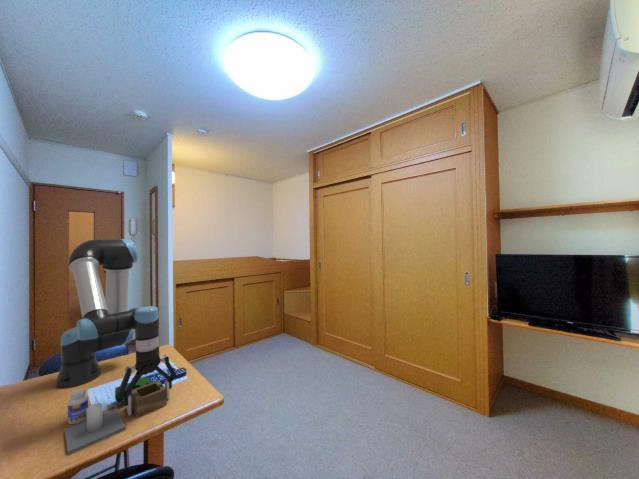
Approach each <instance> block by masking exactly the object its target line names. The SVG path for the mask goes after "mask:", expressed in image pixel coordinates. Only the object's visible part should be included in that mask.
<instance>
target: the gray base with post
mask: <svg viewBox="0 0 639 479" xmlns="http://www.w3.org/2000/svg"><path fill="white" fill-rule="evenodd" d="M126 427H127V426H126V424H125V422H124V420H123V419H122V417H121V414H120V412H119V410H118V408H115V409H112V410H109V411H107V412H104V413H103V403H101V402H97V403H94V404H91V405H88V408H87V418H86V419H85V420H83V421H81V422H79V423H76V424H72V425H71V426H69V427H66V428H64V436H65V444H66V451H67V455H68V456H70V455H72V454H74V453H76V452H78V451H80V450H82V449H85V448H87V447H89V446H92V445H94V444H97V443H99V442H101V441H103V440H105V439H107V438H110V437H112V436H115V435H116V434H119V433H121V432H123V431H125V430H126Z"/></svg>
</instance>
